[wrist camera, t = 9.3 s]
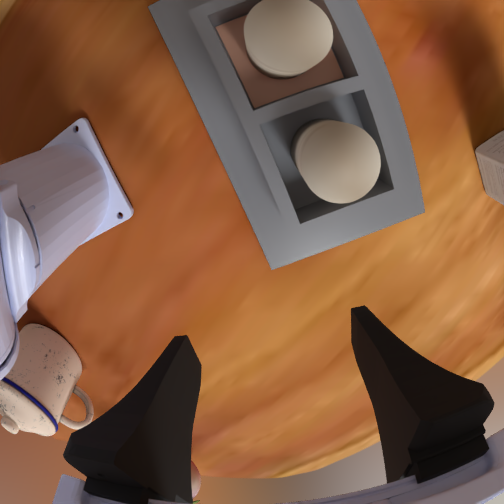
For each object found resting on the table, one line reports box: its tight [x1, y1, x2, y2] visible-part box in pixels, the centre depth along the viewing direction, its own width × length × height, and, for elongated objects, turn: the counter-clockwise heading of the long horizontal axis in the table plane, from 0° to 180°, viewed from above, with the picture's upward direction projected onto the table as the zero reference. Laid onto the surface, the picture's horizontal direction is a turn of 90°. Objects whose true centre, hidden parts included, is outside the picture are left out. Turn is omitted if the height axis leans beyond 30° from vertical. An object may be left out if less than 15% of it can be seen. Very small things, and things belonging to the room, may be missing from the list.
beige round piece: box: [291, 119, 381, 204], centre depth 16 cm, size 4×4×4 cm
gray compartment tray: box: [148, 0, 425, 270], centre depth 15 cm, size 12×20×3 cm, turn 23°
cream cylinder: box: [244, 0, 333, 80], centre depth 13 cm, size 4×4×4 cm
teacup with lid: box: [0, 324, 93, 436], centre depth 23 cm, size 12×9×12 cm
